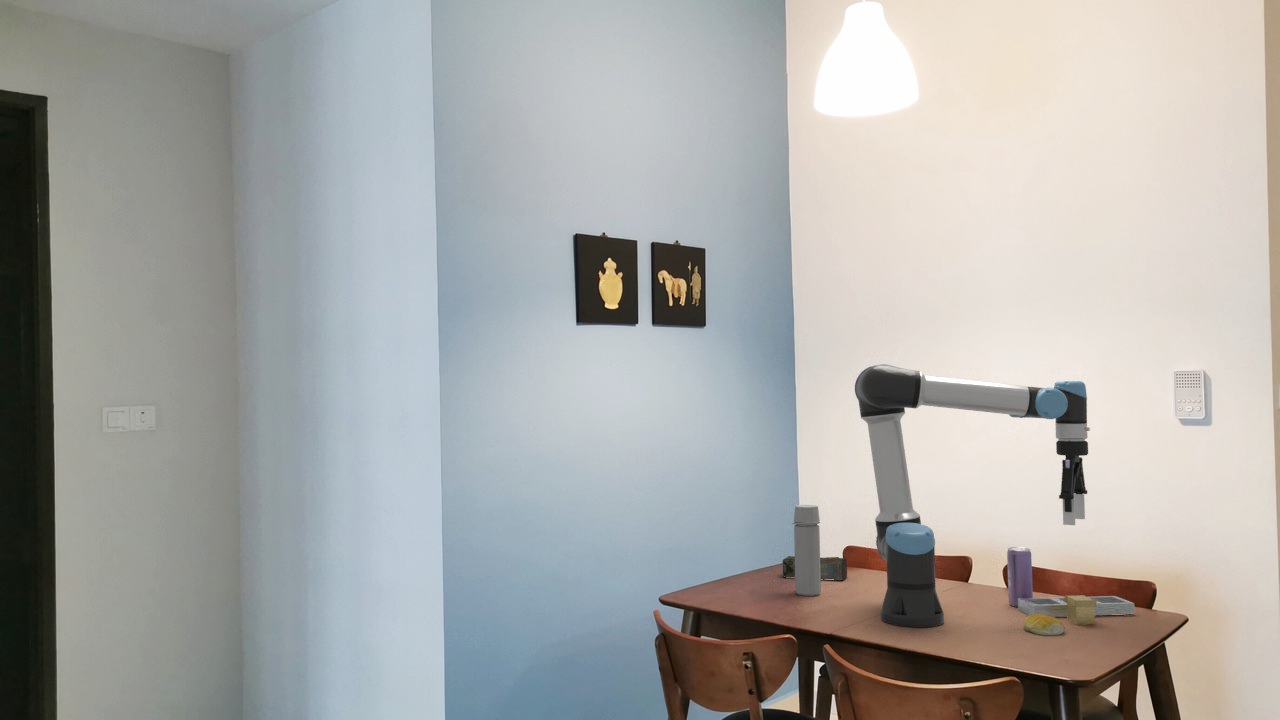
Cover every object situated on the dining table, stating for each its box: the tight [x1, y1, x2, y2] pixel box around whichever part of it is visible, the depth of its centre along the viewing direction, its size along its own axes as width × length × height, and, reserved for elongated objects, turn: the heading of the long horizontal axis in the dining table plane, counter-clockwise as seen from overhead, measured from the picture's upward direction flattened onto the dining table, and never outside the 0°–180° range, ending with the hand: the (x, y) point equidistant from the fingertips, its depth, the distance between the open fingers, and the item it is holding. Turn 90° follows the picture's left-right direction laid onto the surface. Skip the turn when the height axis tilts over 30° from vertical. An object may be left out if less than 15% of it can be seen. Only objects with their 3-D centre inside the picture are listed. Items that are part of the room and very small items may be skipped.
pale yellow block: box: [1063, 594, 1097, 626], centre depth 223 cm, size 5×6×6 cm
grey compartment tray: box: [1017, 595, 1136, 618], centre depth 233 cm, size 26×8×3 cm, turn 92°
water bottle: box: [791, 504, 822, 597], centre depth 261 cm, size 9×8×25 cm
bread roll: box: [1023, 614, 1065, 636], centre depth 216 cm, size 8×9×4 cm
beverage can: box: [1006, 546, 1034, 608], centre depth 242 cm, size 6×6×15 cm
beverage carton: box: [782, 555, 848, 581], centre depth 284 cm, size 8×19×7 cm, turn 68°
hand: (1074, 521), depth 236 cm, fingers open, 13 cm apart
